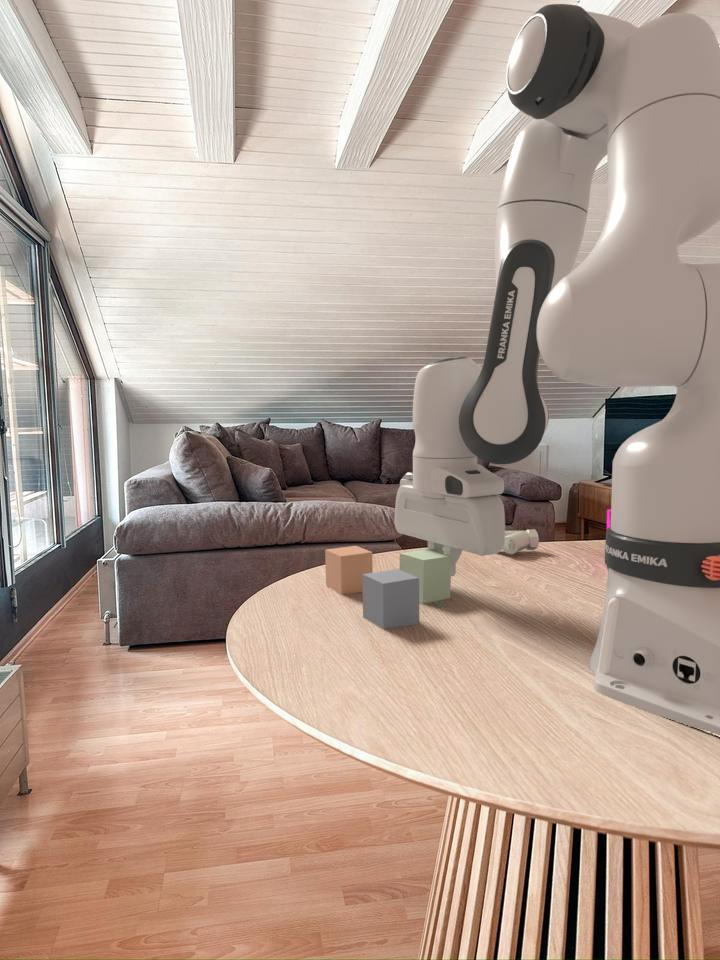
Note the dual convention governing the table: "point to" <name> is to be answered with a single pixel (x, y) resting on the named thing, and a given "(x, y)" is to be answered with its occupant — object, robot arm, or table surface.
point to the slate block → (391, 598)
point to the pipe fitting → (520, 541)
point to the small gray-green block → (439, 604)
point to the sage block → (429, 573)
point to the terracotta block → (347, 568)
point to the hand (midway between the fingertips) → (444, 574)
